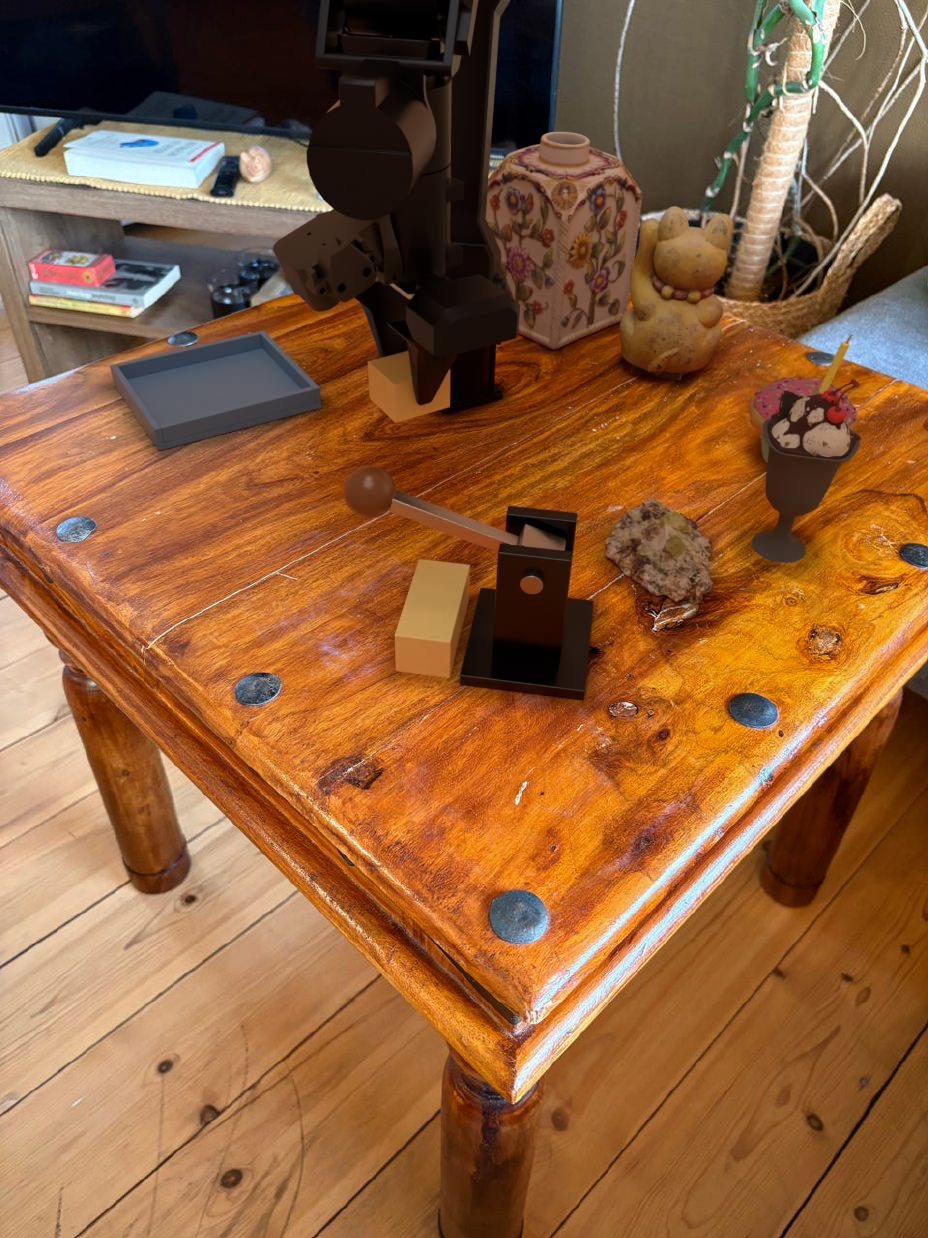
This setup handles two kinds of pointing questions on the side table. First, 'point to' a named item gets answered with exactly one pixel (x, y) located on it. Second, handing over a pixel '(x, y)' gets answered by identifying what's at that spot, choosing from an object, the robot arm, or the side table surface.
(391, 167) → the robot arm
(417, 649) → the tan rectangular block
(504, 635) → the slicer
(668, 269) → the decorative figurine
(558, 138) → the decorative jar
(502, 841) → the side table surface
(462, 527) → the lever
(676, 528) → the mineral rock
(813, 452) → the sundae
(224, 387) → the dish
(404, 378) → the butter pat
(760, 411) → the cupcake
